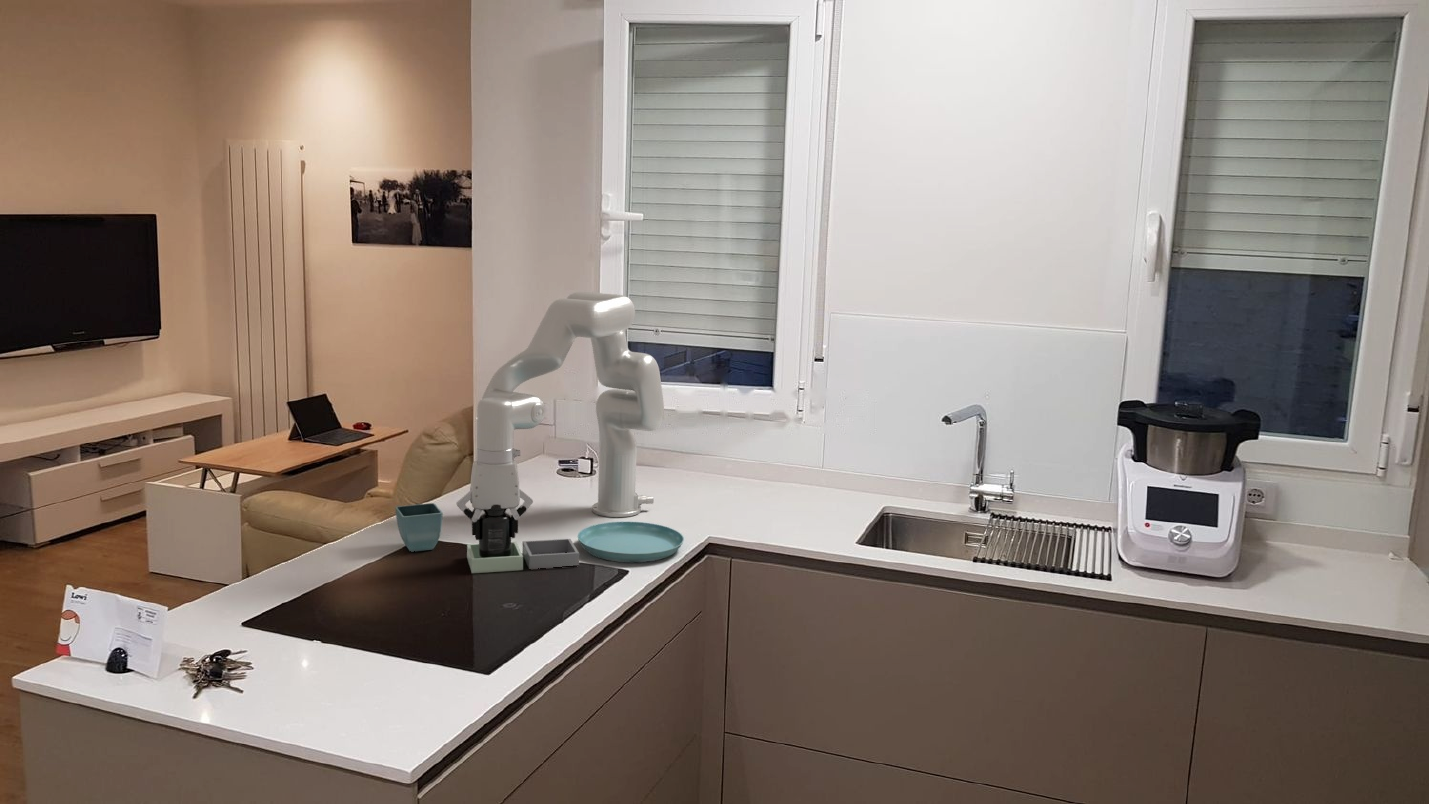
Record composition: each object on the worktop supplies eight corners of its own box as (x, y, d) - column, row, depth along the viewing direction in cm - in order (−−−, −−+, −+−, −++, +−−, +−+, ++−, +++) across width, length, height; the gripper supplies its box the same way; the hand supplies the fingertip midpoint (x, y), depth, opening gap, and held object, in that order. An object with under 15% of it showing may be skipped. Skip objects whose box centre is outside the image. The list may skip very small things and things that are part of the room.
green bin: (516, 554, 233) (516, 541, 233) (522, 570, 223) (522, 556, 223) (467, 557, 230) (467, 544, 229) (471, 573, 220) (471, 559, 219)
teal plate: (604, 573, 224) (605, 558, 224) (560, 541, 245) (561, 528, 244) (702, 558, 237) (703, 544, 236) (653, 529, 257) (653, 516, 257)
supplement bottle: (517, 553, 228) (517, 500, 226) (500, 562, 222) (501, 507, 220) (489, 549, 230) (489, 496, 228) (472, 558, 224) (472, 503, 222)
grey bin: (569, 551, 237) (570, 538, 236) (578, 566, 227) (579, 553, 226) (522, 554, 234) (522, 541, 233) (529, 569, 224) (529, 555, 223)
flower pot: (402, 556, 229) (402, 516, 227) (395, 544, 237) (394, 506, 235) (443, 551, 233) (443, 512, 232) (434, 540, 241) (434, 502, 239)
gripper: (533, 451, 229) (532, 530, 232) (451, 453, 223) (451, 534, 226) (539, 458, 222) (538, 540, 225) (454, 461, 216) (454, 544, 219)
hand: (494, 536), depth 226 cm, fingers closed on supplement bottle, 6 cm apart
